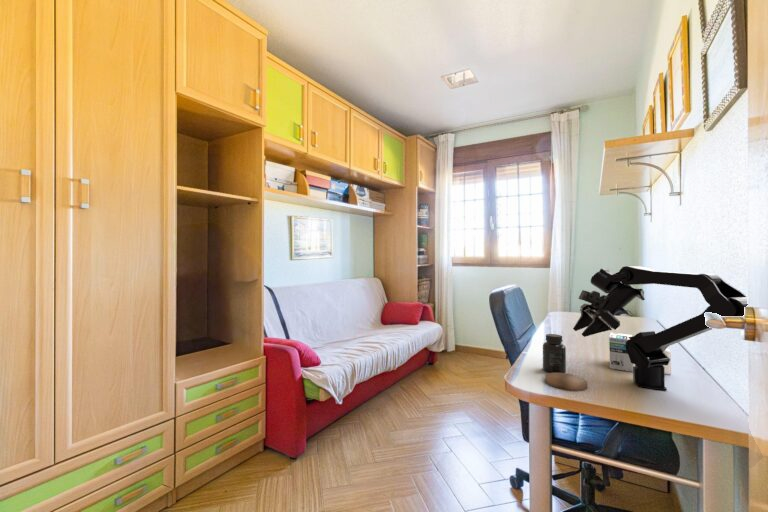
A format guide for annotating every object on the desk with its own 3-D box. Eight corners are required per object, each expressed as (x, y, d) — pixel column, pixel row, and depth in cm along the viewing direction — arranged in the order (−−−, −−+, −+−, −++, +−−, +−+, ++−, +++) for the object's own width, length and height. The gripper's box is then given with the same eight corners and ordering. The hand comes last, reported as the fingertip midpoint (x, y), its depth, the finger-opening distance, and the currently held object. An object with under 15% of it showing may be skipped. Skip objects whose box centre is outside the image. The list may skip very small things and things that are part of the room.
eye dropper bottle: (667, 376, 104) (666, 338, 104) (646, 371, 109) (645, 335, 109) (673, 374, 106) (672, 337, 107) (652, 369, 111) (651, 333, 111)
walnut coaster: (585, 380, 100) (585, 376, 100) (589, 393, 90) (589, 388, 90) (545, 375, 105) (545, 370, 105) (544, 386, 95) (544, 381, 95)
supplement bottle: (543, 366, 113) (543, 332, 113) (566, 370, 110) (565, 334, 110) (541, 372, 107) (541, 336, 108) (565, 376, 104) (565, 338, 104)
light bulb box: (633, 372, 108) (633, 339, 108) (609, 368, 112) (608, 337, 112) (633, 364, 116) (633, 334, 116) (610, 361, 120) (610, 331, 121)
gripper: (586, 280, 115) (552, 310, 118) (607, 283, 97) (566, 319, 100) (612, 303, 113) (577, 333, 115) (638, 311, 95) (596, 346, 97)
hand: (578, 332), depth 107 cm, fingers open, 9 cm apart
